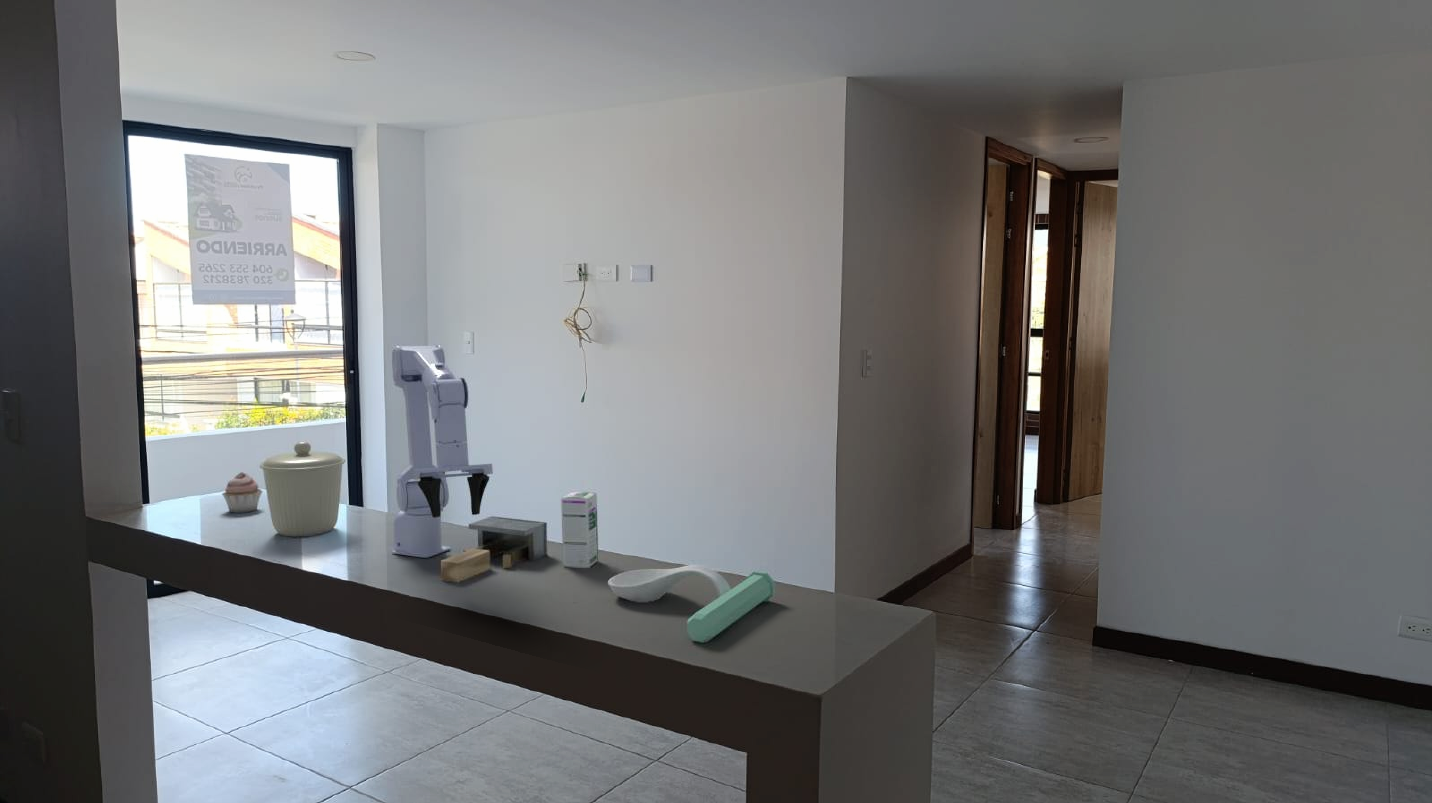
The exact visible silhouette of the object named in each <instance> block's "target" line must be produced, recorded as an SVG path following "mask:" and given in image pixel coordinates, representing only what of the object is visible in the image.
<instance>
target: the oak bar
mask: <svg viewBox="0 0 1432 803" xmlns="http://www.w3.org/2000/svg"><path fill="white" fill-rule="evenodd" d="M470 549H471V550H468V551H465V552H463V551H462V552H461V553H457V554H455V555H453V556H450V557H447V558H444V559H442V560H440V579H441V581H444V580H449V581H448V582H451V581H455V582H454V583H460V581H461V582H462V580H463V581H465V580H467V579H470V578H472V577H474V575H475V576H477V575H479V574H481V572H482V573H484V572H486V571H489V570H490V569H491V562H490V561H491V557H490V551H489V550H481V549H473V548H470Z"/></svg>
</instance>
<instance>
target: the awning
mask: <svg viewBox="0 0 1432 803" xmlns="http://www.w3.org/2000/svg"><path fill="white" fill-rule="evenodd" d="M547 524H548V523H547V521H546V522H544V521H539V520H538V521H536V520H527V519H519V518H510V517H504V516H503V517H501V516H500V517H499V516H487V517H486V518H482V519H480V520H478V521H474V522H471V523H468V530H473V531H474V530H475V531H477V547H475V548H468V549H463V551H462V553H463V552H465V551H468V550H471V549H481V550H489V551H490V558H491V557H494V556H497V555H498V554H499V555H500V553H503V552H504V553H503V555H502V569H512V567H513V565H514V564H517V563H519V562H521V561H524V560H526V559H528V561H532V562H534V561H537V560H539V559H542V558H543V557H545V556H547V555H548V525H547ZM493 555H494V556H493Z"/></svg>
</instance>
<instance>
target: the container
mask: <svg viewBox="0 0 1432 803" xmlns="http://www.w3.org/2000/svg"><path fill="white" fill-rule="evenodd" d="M775 587H776V581H775V580H774V579H773V578H772V576H770V574H769V573H768V572H767V571H759V570H754V571H753V572H751V573H750V574H749V575H748V576H747V577H746V578H745V579H744V580H743V581H741V582H740V583H739V584H737V585H736V586H734V587H733V588H731V590H730V591H728V592H727V593H725V594H723V595H722V596H720V597H719V598H718V597H717V598H716V599H714V600H713V601H712V602H710V603H708V604H707V605H705V606H703V607H702V608H701V609H699V610H698V611H696V612H695V613H694V614H693V615H691V616H690V617H689V618H688V619H687V622H686V631H687V632H686V634H687V635H688V636H689V637H690V639H691V640H692V641H693V642H696V643H697V642H698V643H703V644H704V642H705V643H707V642H709V641H711V640H712V639H713V638H715V637H716V636H718V635H719V634H721V633H722V632H723V631H724V630H726V629H727V628H729V627H730V626H731V625H732V623H733V624H734V623H736V621H738V620H739V619H741V618H743V617H744V616H745V615H746V614H747V613H750V612H751V611H752V610H754V609H755V608H756V607H757V606H759V605H760V604H761V603H766V602H768V601H770V599H771V598H772V597H774V596H775V595H776V594H775V593H776V591H775V590H776V589H775Z"/></svg>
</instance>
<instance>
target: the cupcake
mask: <svg viewBox="0 0 1432 803" xmlns="http://www.w3.org/2000/svg"><path fill="white" fill-rule="evenodd" d="M226 484H227V486H226V488H225V491H224V492H222V493H221V495H222V496H223V498H224V500H225V503H226V505H227V507H228V508H227V509H228V511H229V512H230V513H234V514H243V513H250V512H254V511H256V510H257V509H258V505H259V502H260V498H261V495H262V493H263V490H261V489H260V488H259V485H258V483H257V482H256V481H255V480H254V478H253V477H252V476H251V475H250V474H248V473H246V472H244V471H241V472H239V473H237V475H236V476H234V477H233V479H230V480H228V481H227V483H226Z"/></svg>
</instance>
